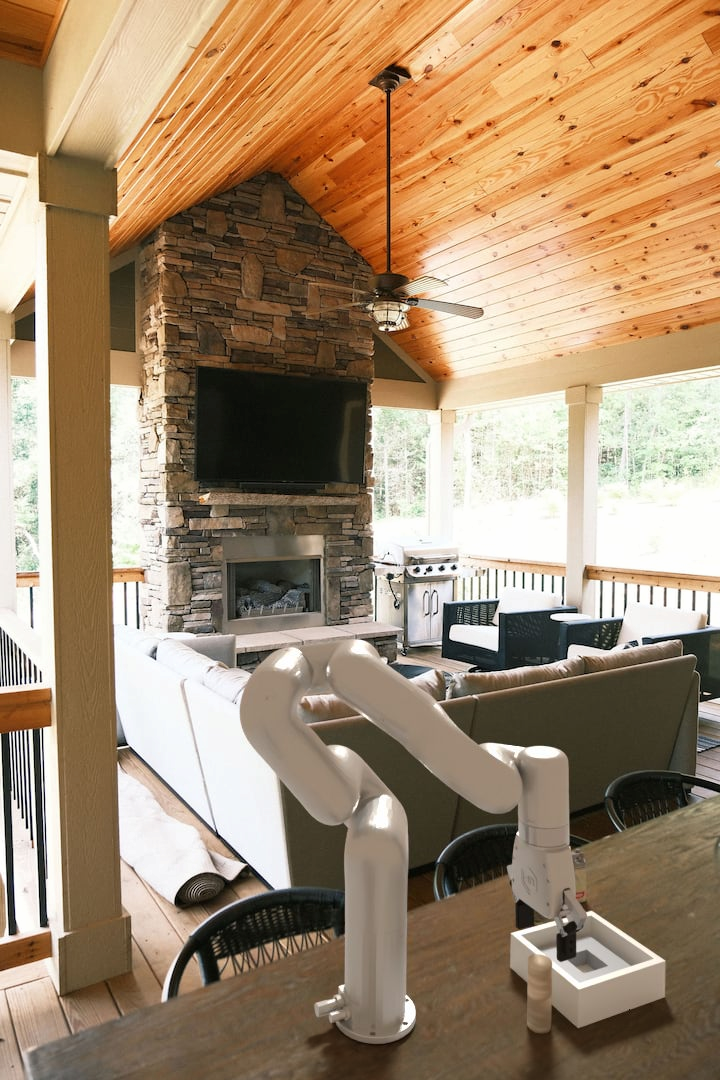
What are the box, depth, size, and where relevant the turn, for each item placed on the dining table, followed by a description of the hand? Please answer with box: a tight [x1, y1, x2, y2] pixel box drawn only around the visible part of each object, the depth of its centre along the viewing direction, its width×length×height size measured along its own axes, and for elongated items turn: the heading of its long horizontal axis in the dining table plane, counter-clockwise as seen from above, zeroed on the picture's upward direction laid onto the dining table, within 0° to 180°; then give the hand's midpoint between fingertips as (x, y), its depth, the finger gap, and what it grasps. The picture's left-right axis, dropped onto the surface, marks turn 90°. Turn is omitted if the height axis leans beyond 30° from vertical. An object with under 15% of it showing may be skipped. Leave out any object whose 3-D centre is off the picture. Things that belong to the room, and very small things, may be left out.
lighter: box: [571, 848, 587, 904], centre depth 153 cm, size 7×4×10 cm, turn 110°
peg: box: [526, 954, 553, 1034], centre depth 115 cm, size 4×4×10 cm
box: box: [509, 910, 667, 1029], centre depth 126 cm, size 18×17×6 cm
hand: (545, 942), depth 114 cm, fingers open, 9 cm apart
